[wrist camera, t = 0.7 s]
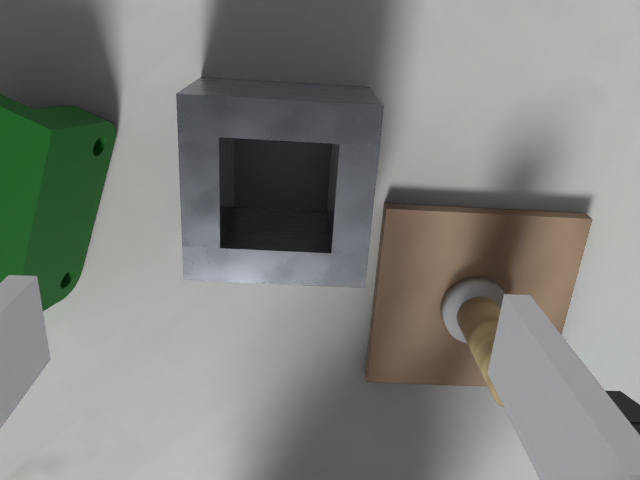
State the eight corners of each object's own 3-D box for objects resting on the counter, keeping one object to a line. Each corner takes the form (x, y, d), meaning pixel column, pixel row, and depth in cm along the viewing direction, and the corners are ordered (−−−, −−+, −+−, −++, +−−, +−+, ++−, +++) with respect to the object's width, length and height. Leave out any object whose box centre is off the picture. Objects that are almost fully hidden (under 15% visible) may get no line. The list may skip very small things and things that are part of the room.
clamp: (57, 105, 34) (-47, 42, 25) (143, 144, 34) (69, 94, 25) (-30, 282, 33) (-168, 283, 24) (57, 324, 33) (-52, 341, 24)
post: (365, 372, 37) (382, 478, 29) (384, 203, 32) (411, 270, 24) (541, 379, 37) (607, 484, 29) (584, 213, 33) (678, 282, 25)
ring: (204, 234, 33) (183, 279, 27) (200, 77, 29) (176, 93, 24) (354, 241, 33) (364, 287, 28) (369, 87, 30) (383, 105, 24)
